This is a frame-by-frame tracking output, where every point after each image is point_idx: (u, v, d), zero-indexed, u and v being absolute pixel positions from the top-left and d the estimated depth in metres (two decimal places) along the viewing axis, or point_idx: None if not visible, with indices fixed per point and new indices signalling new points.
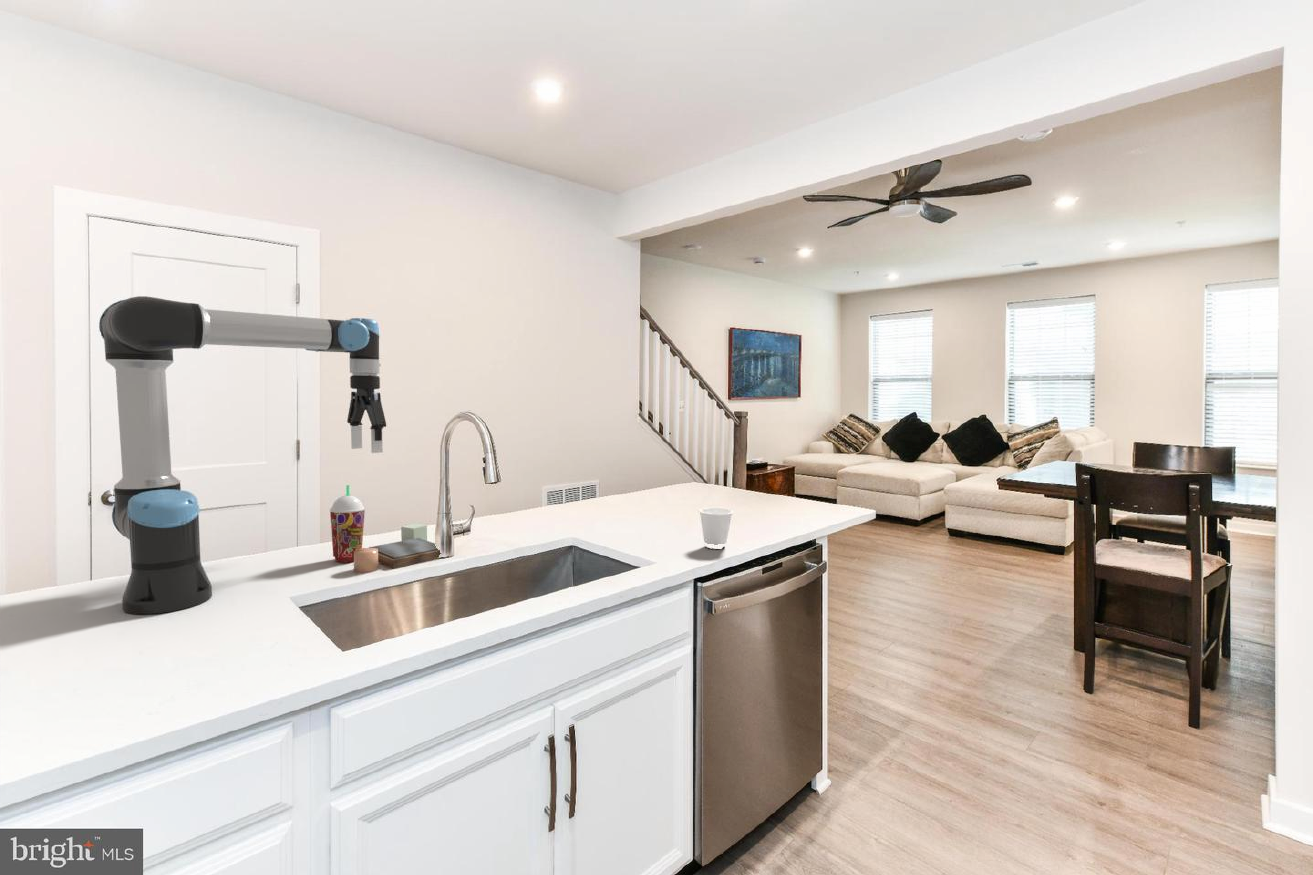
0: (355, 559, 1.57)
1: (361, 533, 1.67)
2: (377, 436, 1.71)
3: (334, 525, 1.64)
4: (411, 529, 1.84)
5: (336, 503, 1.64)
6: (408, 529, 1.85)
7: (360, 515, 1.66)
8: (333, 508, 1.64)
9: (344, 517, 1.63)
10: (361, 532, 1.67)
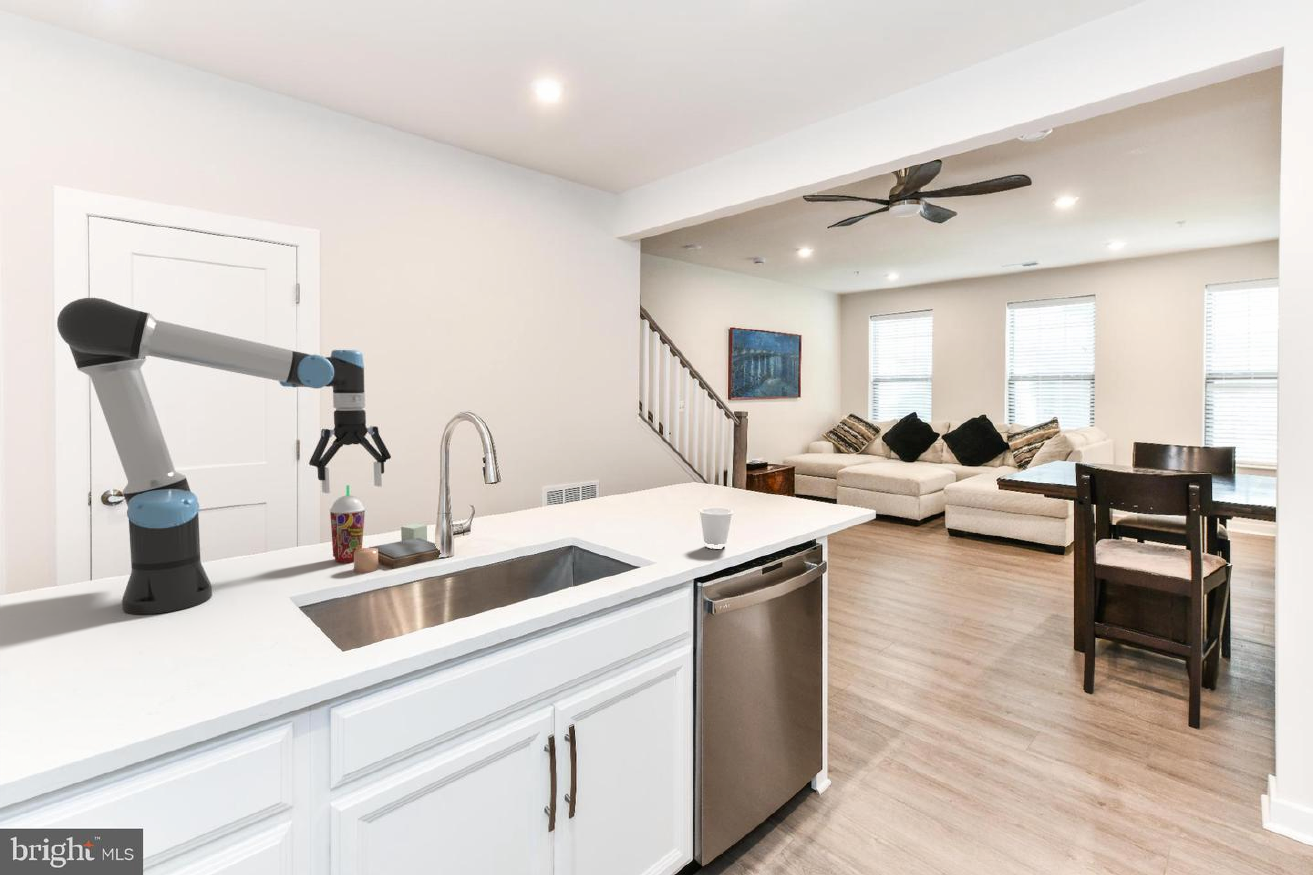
0: (355, 559, 1.57)
1: (361, 533, 1.67)
2: (318, 475, 1.61)
3: (334, 525, 1.64)
4: (411, 529, 1.84)
5: (336, 503, 1.64)
6: (408, 529, 1.85)
7: (360, 515, 1.66)
8: (333, 508, 1.64)
9: (344, 518, 1.63)
10: (361, 532, 1.67)
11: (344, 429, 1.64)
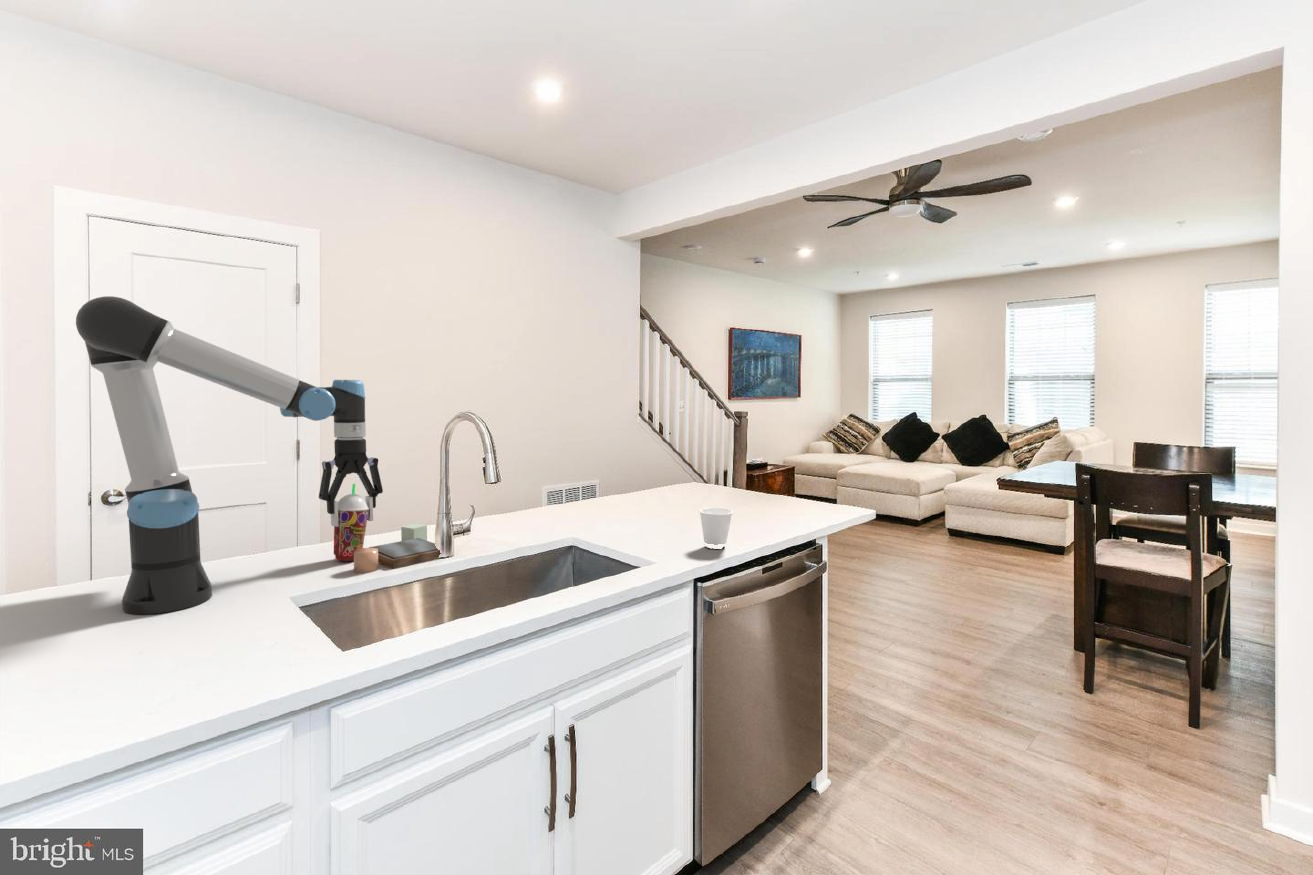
0: (355, 559, 1.57)
1: (363, 533, 1.68)
2: (327, 509, 1.63)
3: None
4: (411, 529, 1.84)
5: (341, 501, 1.65)
6: (408, 529, 1.85)
7: (364, 514, 1.67)
8: (338, 506, 1.65)
9: (348, 515, 1.64)
10: (363, 532, 1.68)
11: (343, 457, 1.64)
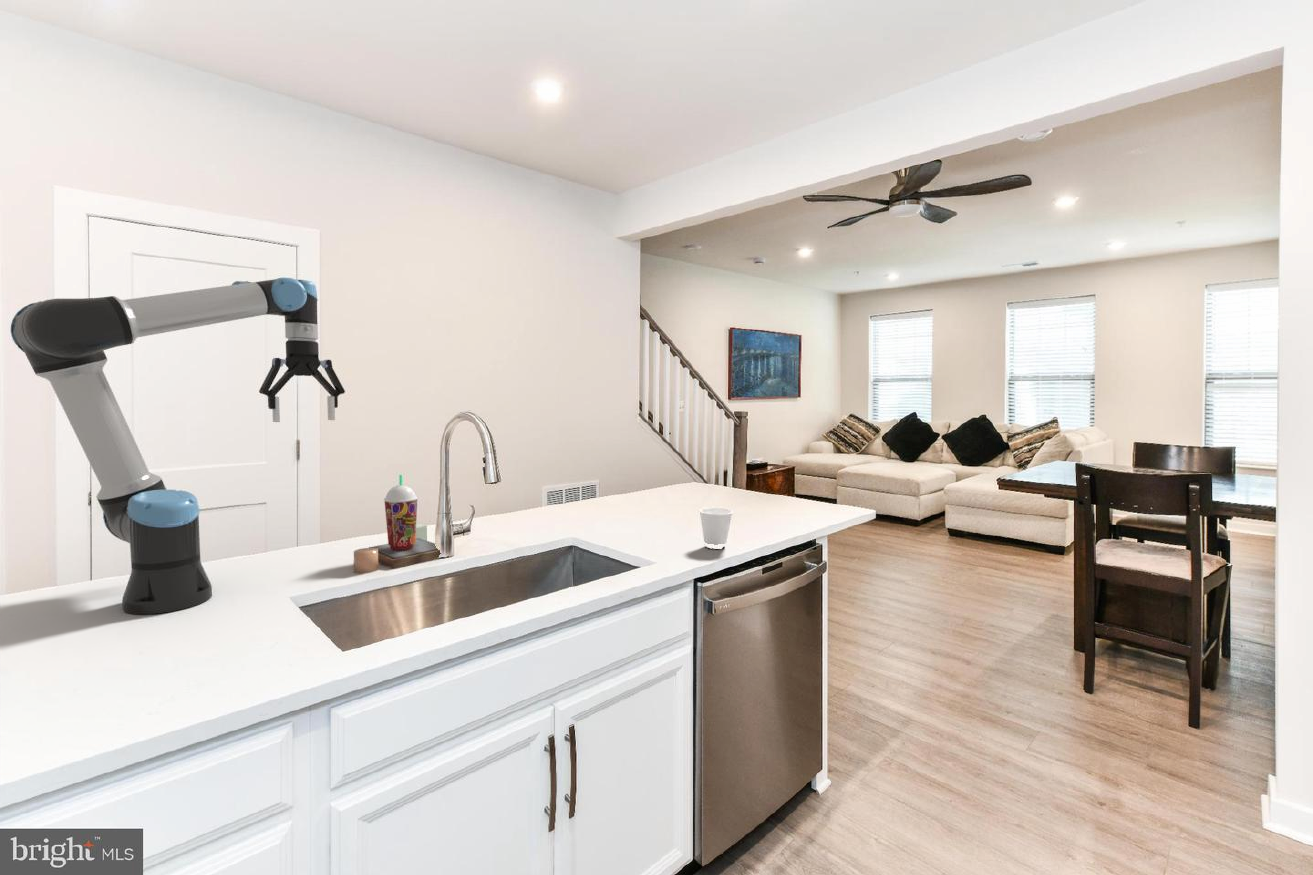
0: (355, 559, 1.57)
1: (415, 522, 1.70)
2: (268, 404, 1.61)
3: (389, 514, 1.66)
4: None
5: (390, 493, 1.67)
6: None
7: (414, 504, 1.69)
8: (387, 498, 1.67)
9: (399, 506, 1.66)
10: (415, 521, 1.70)
11: (296, 359, 1.64)
